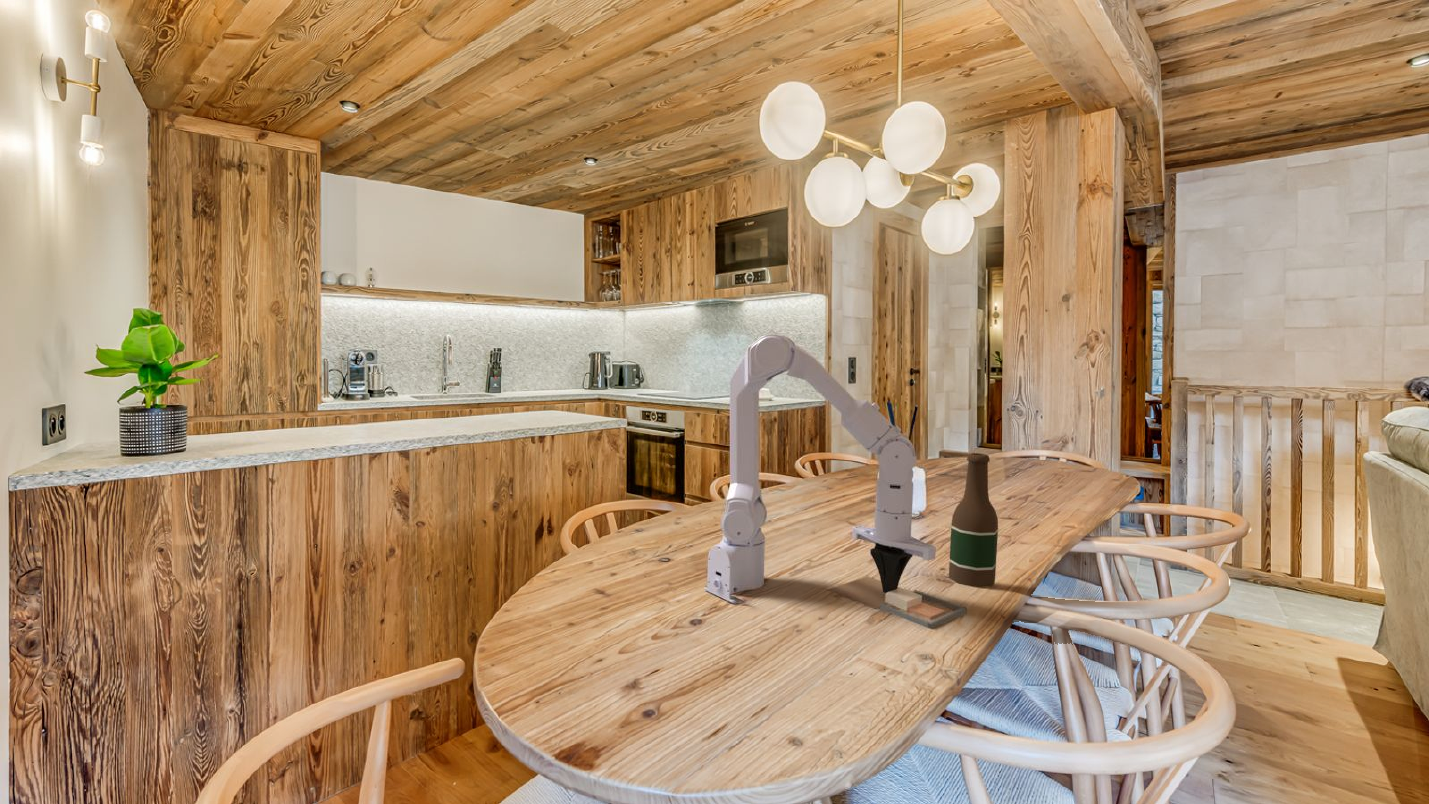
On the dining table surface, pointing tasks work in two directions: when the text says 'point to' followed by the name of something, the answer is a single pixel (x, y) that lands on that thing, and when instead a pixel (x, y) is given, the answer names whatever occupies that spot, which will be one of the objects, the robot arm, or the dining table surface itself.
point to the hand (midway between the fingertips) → (889, 591)
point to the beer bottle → (974, 530)
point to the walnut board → (863, 591)
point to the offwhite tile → (903, 598)
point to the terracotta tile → (926, 610)
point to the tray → (958, 611)
